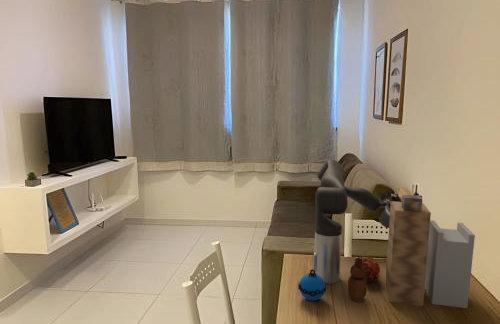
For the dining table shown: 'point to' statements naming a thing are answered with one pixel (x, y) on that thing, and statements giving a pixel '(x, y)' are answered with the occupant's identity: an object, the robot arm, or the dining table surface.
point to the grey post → (449, 265)
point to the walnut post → (407, 254)
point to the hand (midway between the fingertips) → (403, 194)
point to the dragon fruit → (370, 269)
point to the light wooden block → (409, 200)
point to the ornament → (312, 286)
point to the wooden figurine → (357, 281)
